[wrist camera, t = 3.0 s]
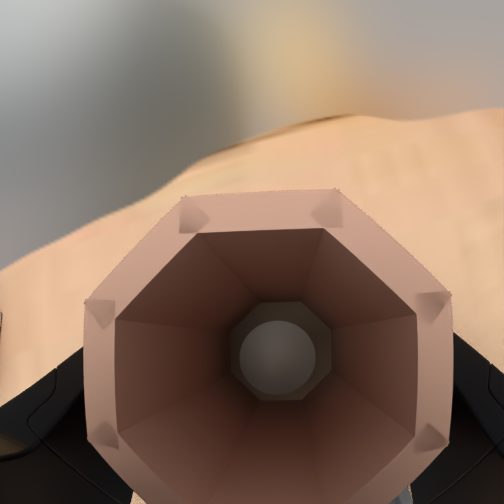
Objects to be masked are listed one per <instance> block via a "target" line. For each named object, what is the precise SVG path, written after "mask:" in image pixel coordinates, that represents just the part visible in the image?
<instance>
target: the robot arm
mask: <svg viewBox="0 0 504 504" xmlns="http://www.w3.org/2000/svg"><path fill="white" fill-rule="evenodd" d="M83 349H84V346H83V347H82V348H80V349H79V350H78V351H76V352H75V353H74V354H73V355H71V356H70V357H69V358H67V359H66V360H65V361H63V362H62V363H61V364H60V365H58V366H57V369H56V368H54V369H53V370H52V371H51V372H49V373H48V374H47V375H45V376H44V377H43V378H41V379H40V380H39V381H37V382H36V383H35V384H33V385H32V386H31V387H29V388H28V389H26V390H25V391H23V392H22V393H20V394H19V395H18V396H16V397H15V398H13V399H11V400H10V401H8V402H7V403H5V404H4V405H2V406H1V407H0V504H130V503H131V499H132V494H133V490H132V489H131V488H130V487H129V485H128V484H127V483H126V482H125V481H124V480H123V479H122V478H121V477H120V476H119V475H118V474H117V473H116V472H115V471H114V470H113V468H112V467H111V466H110V465H109V464H108V463H107V462H106V461H105V459H104V458H103V457H102V456H101V455H100V454H99V452H98V451H97V450H96V449H95V448H94V446H93V445H92V444H91V443H90V442H88V439H87V437H88V435H87V424H86V412H85V395H84V357H83ZM410 486H411V492H412V499H413V504H504V374H503V373H502V372H501V371H500V370H499V369H498V368H496V367H495V366H494V365H493V364H490V362H489V361H488V360H487V359H486V358H484V357H483V356H482V355H481V354H480V353H479V352H477V351H476V350H475V349H474V348H473V347H471V346H470V345H469V344H468V343H466V342H465V341H464V340H463V339H462V338H460V337H459V336H458V335H457V334H455V333H454V332H453V393H452V410H451V422H450V432H449V444H448V446H447V447H445V448H444V449H443V450H442V452H441V453H440V454H439V455H438V456H437V457H436V458H435V459H434V460H433V461H432V462H431V463H430V465H429V466H428V467H427V468H426V469H425V470H424V471H423V472H422V473H421V474H420V475H419V476H418V477H417V478H416V479H415V480H414V481H413V482H412V483H411V484H410Z"/></svg>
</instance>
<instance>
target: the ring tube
mask: <svg viewBox="0 0 504 504" xmlns="http://www.w3.org/2000/svg"><path fill="white" fill-rule="evenodd" d="M451 296H452V294H451V293H450V291H448V290H447V289H446V288H445V287H444V286H443V285H442V284H441V283H440V282H439V281H438V280H437V279H436V278H435V277H434V276H433V275H432V274H431V273H430V272H429V271H428V270H427V269H426V268H425V267H424V266H423V265H422V264H421V263H420V262H419V261H418V260H416V259H415V258H414V257H413V256H412V255H411V254H410V253H409V252H408V251H407V250H406V249H405V248H404V247H403V246H402V245H401V244H399V243H398V242H397V241H396V240H395V239H394V238H393V237H392V236H391V235H390V234H388V233H387V232H386V231H385V230H384V229H383V228H382V227H381V226H380V225H378V224H377V223H376V222H375V221H374V220H373V219H372V218H370V217H369V216H368V215H367V214H366V213H365V212H363V211H362V210H361V209H360V208H359V207H358V206H356V205H355V204H354V203H353V202H352V201H351V200H349V199H348V198H347V197H346V196H345V195H343V194H342V193H341V192H340V189H336V188H334V189H322V190H290V191H266V192H247V193H230V194H214V195H200V196H186V195H185V196H184V197H181V200H180V201H179V202H178V203H177V204H176V205H175V206H174V207H173V208H172V209H171V210H170V211H169V212H168V213H167V214H166V215H165V216H164V217H163V218H162V219H161V220H160V221H159V222H158V223H157V224H156V225H155V226H154V227H153V228H152V229H151V230H150V231H149V232H148V233H147V234H146V235H145V236H144V237H143V238H142V239H141V240H140V242H139V243H138V244H137V245H136V246H135V247H134V248H133V249H132V250H131V251H130V252H129V253H128V254H127V255H126V256H125V257H124V259H123V260H122V261H121V262H120V263H119V264H118V265H117V266H116V267H115V268H114V269H113V271H112V272H111V273H110V274H109V275H108V276H107V277H106V278H105V279H104V281H103V282H102V283H101V284H100V285H99V286H98V287H97V288H96V290H95V291H94V292H93V293H92V294H91V295H90V296H89V298H88V299H85V302H84V305H85V311H84V349H83V357H84V395H85V412H86V424H87V435H88V437H87V439H88V442H90V443H91V444H92V445H93V446H94V448H95V449H96V450H97V451H98V452H99V454H100V455H101V456H102V457H103V458H104V459H105V461H106V462H107V463H108V464H109V465H110V466H111V467H112V468H113V470H114V471H115V472H116V473H117V474H118V475H119V476H120V477H121V478H122V479H123V480H124V481H125V482H126V483H127V484H128V485H129V487H130V488H131V489H132V490H133V491H134V492H135V493H136V494H137V495H138V496H140V497H141V498H142V499H143V500H144V501H145V502H146V503H147V504H389V503H390V502H391V501H392V500H393V499H395V498H396V497H397V496H398V495H399V494H400V493H401V492H402V491H403V490H404V489H405V488H406V487H408V486H409V485H410V484H411V483H412V482H413V481H414V480H415V479H416V478H417V477H418V476H419V475H420V474H421V473H422V472H423V471H424V470H425V469H426V468H427V467H428V466H429V465H430V463H431V462H432V461H433V460H434V459H435V458H436V457H437V456H438V455H439V454H440V453H441V452H442V450H443V449H444V448H445V447H447V446H448V444H449V432H450V422H451V410H452V393H453V323H452V306H451ZM299 301H301V302H302V303H303V304H304V305H305V306H306V307H307V308H308V309H309V310H310V311H312V312H313V313H314V314H315V315H316V316H317V317H318V318H319V319H320V320H321V321H322V322H323V323H324V324H325V325H327V326H328V327H329V328H330V329H331V371H330V372H329V373H328V374H327V375H326V376H325V377H324V378H323V379H322V380H321V381H320V382H319V383H318V384H317V385H316V386H315V387H314V388H313V389H312V390H311V391H310V392H309V393H308V394H307V395H306V396H305V397H304V398H303V399H302V400H259V399H258V398H257V397H256V396H255V395H254V394H253V393H252V392H251V391H250V390H249V389H248V388H247V387H246V386H245V385H244V384H243V383H242V382H241V381H239V380H238V379H237V378H236V377H235V376H234V375H233V374H232V373H231V331H232V330H233V329H234V328H235V327H236V326H237V325H238V324H239V323H240V322H241V321H242V320H243V319H244V318H245V317H246V316H247V315H248V314H249V313H250V312H251V311H252V310H253V309H254V308H255V307H256V306H257V305H258V304H259V303H263V302H299Z"/></svg>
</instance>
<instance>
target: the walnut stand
mask: <svg viewBox="0 0 504 504" xmlns="http://www.w3.org/2000/svg"><path fill="white" fill-rule="evenodd" d="M330 371H331V329H330V328H329V327H328V326H327V325H325V324H324V323H323V322H322V321H321V320H320V319H319V318H318V317H317V316H316V315H315V314H314V313H313V312H312V311H310V310H309V309H308V308H307V307H306V306H305V305H304V304H303V303H302V302H301V301H299V302H263V303H259V304H258V305H257V306H256V307H255V308H254V309H253V310H252V311H251V312H250V313H249V314H248V315H247V316H246V317H245V318H244V319H243V320H242V321H241V322H240V323H239V324H238V325H237V326H236V327H235V328H234V329H233V330H232V331H231V373H232V374H233V375H234V376H235V377H236V378H237V379H238V380H239V381H241V382H242V383H243V384H244V385H245V386H246V387H247V388H248V389H249V390H250V391H251V392H252V393H253V394H254V395H255V396H256V397H257V398H258V399H259V400H302V399H303V398H304V397H305V396H306V395H307V394H308V393H309V392H310V391H311V390H312V389H313V388H314V387H315V386H316V385H317V384H318V383H319V382H320V381H321V380H322V379H323V378H324V377H325V376H326V375H327V374H328V373H329V372H330Z"/></svg>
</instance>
